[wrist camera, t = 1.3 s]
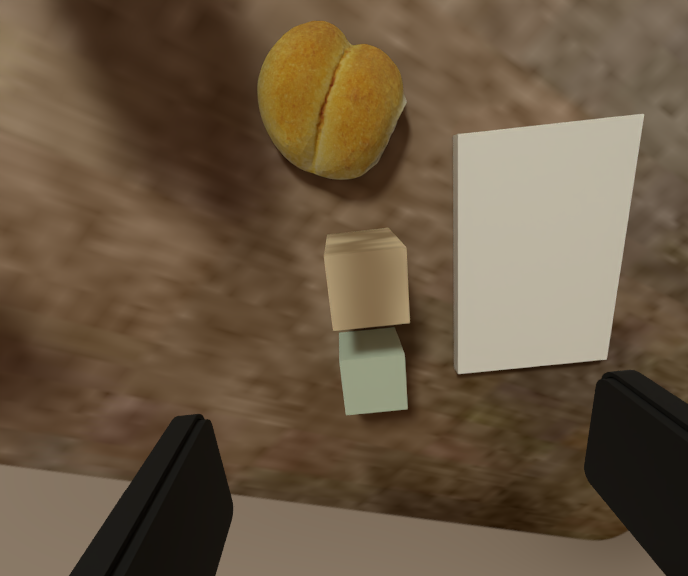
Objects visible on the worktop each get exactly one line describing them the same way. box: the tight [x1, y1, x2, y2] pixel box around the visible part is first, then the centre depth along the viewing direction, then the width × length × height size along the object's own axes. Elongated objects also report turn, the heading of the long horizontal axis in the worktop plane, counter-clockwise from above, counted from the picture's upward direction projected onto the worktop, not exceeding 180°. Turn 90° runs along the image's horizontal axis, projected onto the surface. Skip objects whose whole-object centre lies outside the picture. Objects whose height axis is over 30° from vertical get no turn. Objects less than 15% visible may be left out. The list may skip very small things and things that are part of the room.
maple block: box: [324, 228, 410, 331], centre depth 23 cm, size 4×4×7 cm
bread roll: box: [257, 21, 407, 180], centre depth 21 cm, size 8×9×4 cm
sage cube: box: [339, 327, 408, 415], centre depth 27 cm, size 4×4×4 cm
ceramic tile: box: [453, 114, 644, 374], centre depth 26 cm, size 12×18×1 cm, turn 6°
